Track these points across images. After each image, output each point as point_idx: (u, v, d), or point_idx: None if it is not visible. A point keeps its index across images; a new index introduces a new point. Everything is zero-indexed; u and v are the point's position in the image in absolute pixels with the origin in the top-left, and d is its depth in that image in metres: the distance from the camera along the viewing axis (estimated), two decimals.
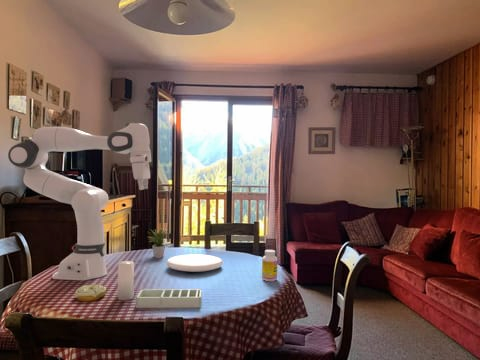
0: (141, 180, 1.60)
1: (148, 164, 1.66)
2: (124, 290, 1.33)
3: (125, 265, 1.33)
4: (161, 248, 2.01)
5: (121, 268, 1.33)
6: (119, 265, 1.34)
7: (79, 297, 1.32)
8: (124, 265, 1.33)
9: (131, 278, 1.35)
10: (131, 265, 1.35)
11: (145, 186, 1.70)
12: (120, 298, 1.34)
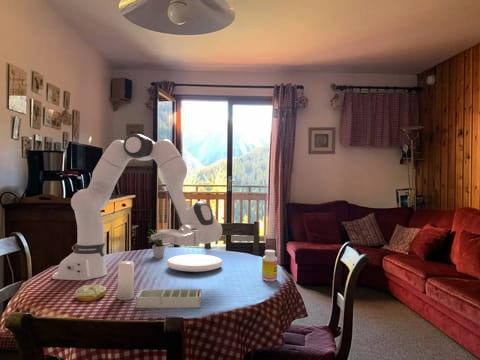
0: (174, 241, 1.41)
1: None
2: (124, 290, 1.33)
3: (125, 265, 1.33)
4: (161, 248, 2.01)
5: (121, 268, 1.33)
6: (119, 265, 1.34)
7: (79, 297, 1.32)
8: (124, 265, 1.33)
9: (131, 278, 1.35)
10: (131, 265, 1.35)
11: (155, 237, 1.47)
12: (120, 298, 1.34)
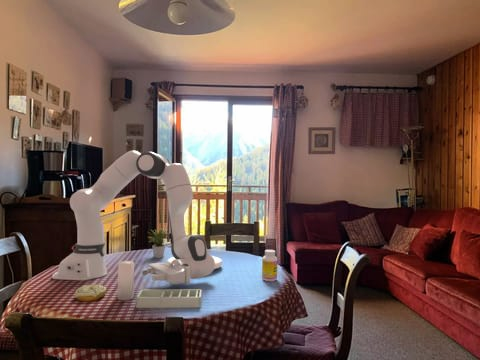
0: (164, 279, 1.39)
1: None
2: (124, 290, 1.33)
3: (125, 265, 1.33)
4: (161, 248, 2.01)
5: (121, 268, 1.33)
6: (119, 265, 1.34)
7: (79, 297, 1.32)
8: (124, 265, 1.33)
9: (131, 278, 1.35)
10: (131, 265, 1.35)
11: (145, 272, 1.45)
12: (120, 298, 1.34)
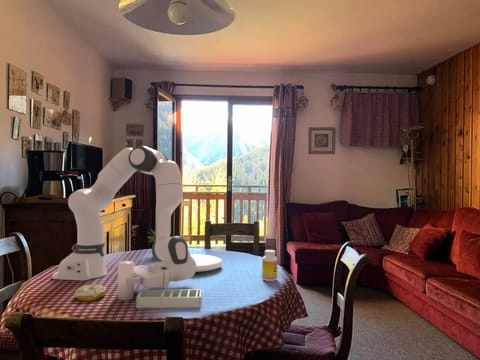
0: (139, 282, 1.34)
1: None
2: (124, 290, 1.33)
3: (125, 265, 1.33)
4: None
5: (121, 268, 1.33)
6: (119, 265, 1.34)
7: (79, 297, 1.32)
8: (124, 265, 1.33)
9: None
10: (131, 265, 1.35)
11: None
12: (120, 298, 1.34)
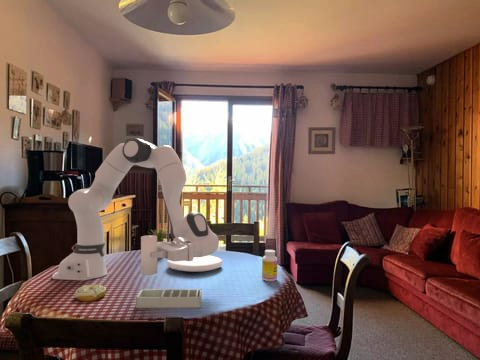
0: (164, 256, 1.29)
1: None
2: (148, 265, 1.29)
3: (148, 238, 1.29)
4: None
5: (144, 242, 1.29)
6: (142, 239, 1.29)
7: (79, 297, 1.32)
8: (147, 238, 1.29)
9: None
10: (154, 238, 1.30)
11: None
12: (144, 273, 1.29)
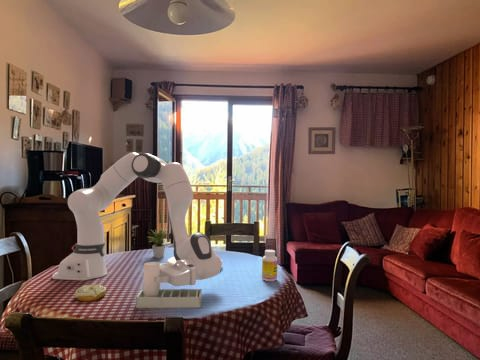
0: (168, 281, 1.28)
1: None
2: (150, 293, 1.28)
3: (151, 266, 1.28)
4: (161, 248, 2.01)
5: (147, 269, 1.28)
6: (145, 266, 1.29)
7: (79, 297, 1.32)
8: (150, 266, 1.28)
9: None
10: (157, 266, 1.29)
11: None
12: None
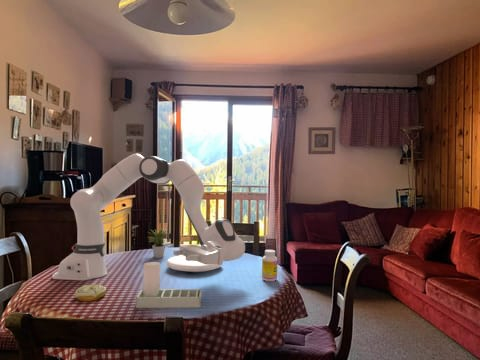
0: (198, 259, 1.37)
1: None
2: (150, 293, 1.28)
3: (151, 266, 1.28)
4: (161, 248, 2.01)
5: (147, 269, 1.28)
6: (145, 266, 1.29)
7: (79, 297, 1.32)
8: (150, 266, 1.28)
9: (157, 280, 1.29)
10: (157, 266, 1.29)
11: (177, 253, 1.44)
12: None
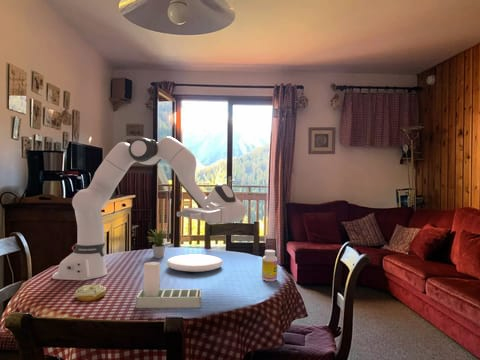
0: (201, 217, 1.41)
1: (207, 221, 1.50)
2: (150, 293, 1.28)
3: (151, 266, 1.28)
4: (161, 248, 2.01)
5: (147, 269, 1.28)
6: (145, 266, 1.29)
7: (79, 297, 1.32)
8: (150, 266, 1.28)
9: (157, 280, 1.29)
10: (157, 266, 1.29)
11: (181, 214, 1.47)
12: None
